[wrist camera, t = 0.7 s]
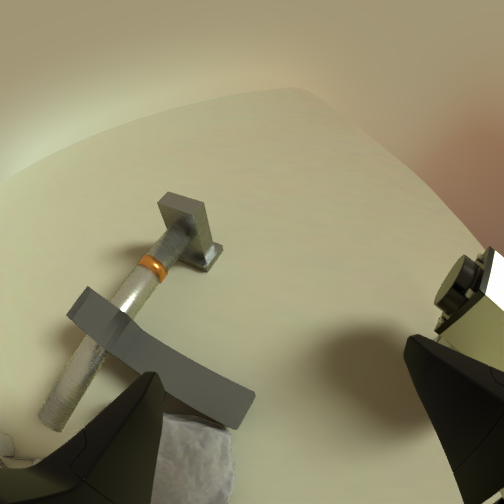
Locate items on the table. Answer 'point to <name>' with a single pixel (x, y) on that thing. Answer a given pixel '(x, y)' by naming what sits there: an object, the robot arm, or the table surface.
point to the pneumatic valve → (474, 308)
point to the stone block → (193, 462)
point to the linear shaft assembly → (136, 297)
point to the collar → (161, 361)
